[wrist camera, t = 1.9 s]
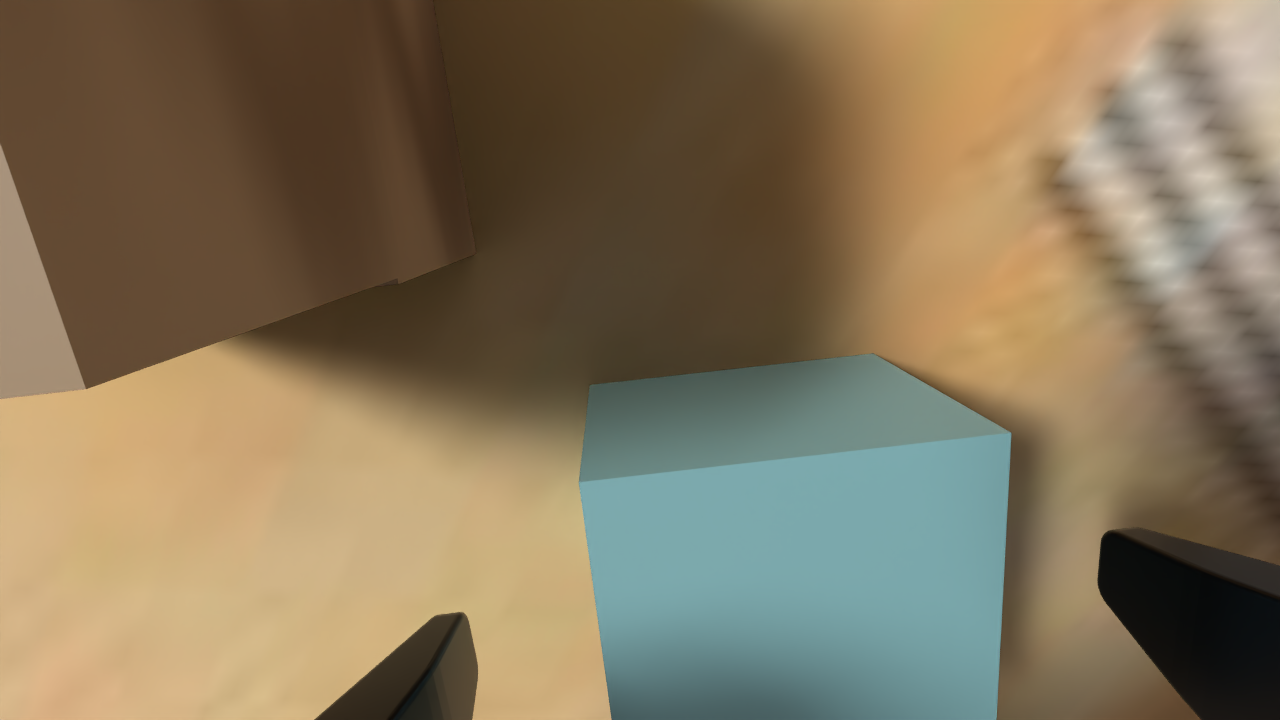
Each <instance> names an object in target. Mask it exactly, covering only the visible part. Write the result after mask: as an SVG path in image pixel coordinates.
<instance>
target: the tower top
mask: <svg viewBox="0 0 1280 720" xmlns="http://www.w3.org/2000/svg"><path fill="white" fill-rule="evenodd" d="M402 276H404V273H403V268H402V263H401V258H400V253H399V248H398V243H397V238H396V233H395V228H394V223H393V218H392V214H391V209H390V204H389V199H388V194H387V189H386V184H385V179H384V174H383V169H382V164H381V159H380V154H379V149H378V145H377V140H376V135H375V130H374V125H373V120H372V115H371V110H370V105H369V100H368V95H367V90H366V85H365V80H364V76H363V71H362V66H361V61H360V56H359V51H358V46H357V41H356V36H355V31H354V26H353V21H352V16H351V11H350V7H349V2H348V0H0V399H4V398H13V397H22V396H30V395H39V394H48V393H57V392H65V391H74V390H83V389H88V388H91V387H93V386H96V385H99V384H102V383H105V382H107V381H110V380H113V379H116V378H119V377H121V376H124V375H127V374H130V373H133V372H135V371H138V370H141V369H144V368H147V367H149V366H152V365H155V364H158V363H161V362H164V361H166V360H169V359H172V358H175V357H178V356H180V355H183V354H186V353H189V352H192V351H194V350H197V349H200V348H203V347H206V346H208V345H211V344H214V343H217V342H220V341H222V340H225V339H228V338H231V337H234V336H236V335H239V334H242V333H245V332H248V331H251V330H253V329H256V328H259V327H262V326H265V325H267V324H270V323H273V322H276V321H279V320H281V319H284V318H287V317H290V316H293V315H295V314H298V313H301V312H304V311H307V310H309V309H312V308H315V307H318V306H321V305H323V304H326V303H329V302H332V301H335V300H338V299H340V298H343V297H346V296H349V295H352V294H354V293H357V292H360V291H363V290H366V289H368V288H371V287H374V286H377V285H380V284H382V283H385V282H388V281H391V280H394V279H396V278H399V277H402Z"/></svg>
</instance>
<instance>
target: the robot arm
mask: <svg viewBox="0 0 1280 720" xmlns="http://www.w3.org/2000/svg"><path fill="white" fill-rule="evenodd" d="M1098 588H1099V591H1100V594H1101V596H1102V598H1103V599H1104V601H1105V602H1106V604H1107V605H1108V606H1109V607H1110V609H1111V610H1112V611H1113V612H1114V614H1115V615H1116V616H1117V617H1118V619H1119V620H1120V621H1121V622H1122V624H1123V625H1124V626H1125V628H1126V629H1127V630H1128V631H1129V633H1130V634H1131V635H1132V636H1133V638H1134V639H1135V640H1136V641H1137V643H1138V644H1139V645H1140V646H1141V648H1142V649H1143V650H1144V651H1145V653H1146V654H1147V655H1148V656H1149V658H1150V659H1151V660H1152V661H1153V663H1154V664H1155V665H1156V667H1157V668H1158V669H1159V670H1160V672H1161V673H1162V674H1163V675H1164V677H1165V678H1166V679H1167V680H1168V682H1169V683H1170V684H1171V685H1172V687H1173V688H1174V689H1175V690H1176V691H1177V693H1178V694H1179V695H1180V696H1181V697H1182V699H1183V700H1184V701H1185V702H1186V703H1187V704H1188V705H1189V707H1190V708H1191V709H1192V710H1193V711H1194V712H1195V713H1196V714H1197V715H1198V717H1199V718H1200V719H1201V720H1280V566H1279V565H1276V564H1272V563H1268V562H1264V561H1261V560H1257V559H1253V558H1250V557H1246V556H1242V555H1239V554H1235V553H1231V552H1228V551H1224V550H1220V549H1216V548H1213V547H1209V546H1205V545H1202V544H1198V543H1194V542H1191V541H1187V540H1183V539H1180V538H1176V537H1172V536H1168V535H1165V534H1161V533H1157V532H1154V531H1150V530H1146V529H1143V528H1136V527H1131V528H1124V529H1116V530H1110V531H1107V532H1106V533H1105V534H1104V535H1103V537H1102V538H1101V545H1100V556H1099V568H1098ZM477 681H478V664H477V658H476V653H475V648H474V644H473V639H472V634H471V629H470V625H469V621H468V618H467V616H466V615H465V614H464V613H462V612H457V613H449V614H441V615H436V616H434V617H433V618H431V619H430V620H429V621H428V622H427V623H426V624H424V625H423V626H422V627H421V628H420V629H419V630H417V631H416V632H415V633H414V634H413V635H412V636H410V637H409V638H408V639H407V640H406V641H405V642H404V643H402V644H401V645H400V646H399V647H398V648H397V649H395V650H394V651H393V652H392V653H391V654H390V655H389V656H387V657H386V658H385V659H384V660H383V661H382V662H380V663H379V664H378V665H377V666H376V667H375V668H374V669H372V670H371V671H370V672H369V673H368V674H367V675H365V676H364V677H363V678H362V679H361V680H360V681H358V682H357V683H356V684H355V685H354V686H353V687H352V688H350V689H349V690H348V691H347V692H346V693H345V694H343V695H342V696H341V697H340V698H339V699H338V700H337V701H335V702H334V703H333V704H332V705H331V706H330V707H328V708H327V709H326V710H325V711H324V712H323V713H321V714H320V715H319V716H318V717H317V718H316V719H315V720H472V717H473V710H474V703H475V696H476V689H477Z"/></svg>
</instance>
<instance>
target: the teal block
mask: <svg viewBox="0 0 1280 720" xmlns="http://www.w3.org/2000/svg"><path fill="white" fill-rule="evenodd" d="M1010 450H1011V432H1009V431H1008V430H1006V429H1004V428H1002V427H1001V426H999V425H997V424H995V423H994V422H992V421H990V420H988V419H987V418H985V417H983V416H981V415H980V414H978V413H976V412H974V411H973V410H971V409H969V408H967V407H966V406H964V405H962V404H960V403H959V402H957V401H955V400H953V399H952V398H950V397H948V396H946V395H945V394H943V393H941V392H940V391H938V390H936V389H934V388H933V387H931V386H929V385H927V384H926V383H924V382H922V381H920V380H919V379H917V378H915V377H913V376H912V375H910V374H908V373H906V372H905V371H903V370H901V369H899V368H898V367H896V366H894V365H892V364H891V363H889V362H887V361H885V360H884V359H882V358H880V357H879V356H877V355H875V354H864V355H855V356H846V357H837V358H828V359H819V360H810V361H801V362H792V363H783V364H774V365H765V366H756V367H747V368H738V369H729V370H720V371H711V372H702V373H693V374H684V375H675V376H666V377H657V378H648V379H639V380H630V381H621V382H612V383H603V384H594V385H590V388H589V397H588V406H587V415H586V423H585V432H584V441H583V450H582V459H581V468H580V477H579V487H580V494H581V501H582V508H583V515H584V523H585V530H586V537H587V544H588V552H589V559H590V566H591V573H592V580H593V588H594V595H595V602H596V609H597V617H598V624H599V631H600V638H601V646H602V653H603V660H604V667H605V674H606V682H607V689H608V696H609V703H610V711H611V718H612V720H996V719H997V700H998V680H999V661H1000V642H1001V623H1002V604H1003V584H1004V565H1005V546H1006V527H1007V508H1008V489H1009V469H1010Z"/></svg>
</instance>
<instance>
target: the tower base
mask: <svg viewBox="0 0 1280 720" xmlns="http://www.w3.org/2000/svg"><path fill="white" fill-rule="evenodd" d="M348 2H349V7H350V11H351V16H352V21H353V26H354V31H355V36H356V41H357V46H358V51H359V56H360V61H361V66H362V71H363V76H364V80H365V85H366V90H367V95H368V100H369V105H370V110H371V115H372V120H373V125H374V130H375V135H376V140H377V145H378V149H379V154H380V159H381V164H382V169H383V174H384V179H385V184H386V189H387V194H388V199H389V204H390V209H391V214H392V218H393V223H394V228H395V233H396V238H397V243H398V248H399V253H400V258H401V263H402V268H403V273H404V276H402V277H399V278H396V279H394V280H391V281H388V282H385V283H382V284H380V285H377V286H374V287H378V286H387V285H396V284H400V283H403V282H405V281H408V280H411V279H413V278H416V277H418V276H421V275H423V274H426V273H428V272H431V271H433V270H436V269H439V268H441V267H444V266H446V265H449V264H451V263H454V262H456V261H459V260H462V259H464V258H467V257H469V256H472V255H474V254H476V249H475V243H474V237H473V231H472V225H471V220H470V214H469V208H468V202H467V196H466V190H465V185H464V179H463V173H462V167H461V161H460V155H459V150H458V144H457V138H456V132H455V126H454V120H453V115H452V109H451V103H450V97H449V91H448V86H447V80H446V74H445V68H444V62H443V56H442V51H441V45H440V39H439V33H438V27H437V21H436V16H435V10H434V4H433V0H348Z"/></svg>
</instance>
